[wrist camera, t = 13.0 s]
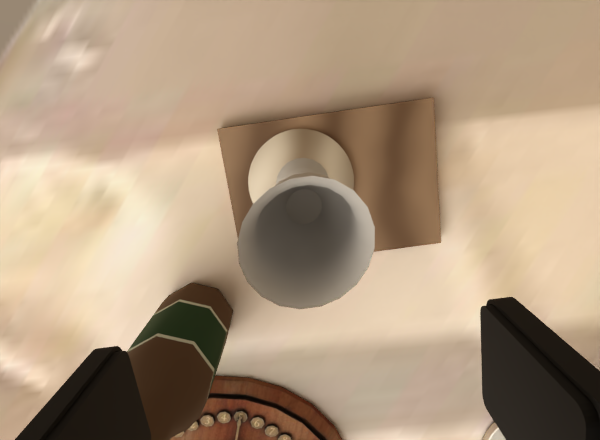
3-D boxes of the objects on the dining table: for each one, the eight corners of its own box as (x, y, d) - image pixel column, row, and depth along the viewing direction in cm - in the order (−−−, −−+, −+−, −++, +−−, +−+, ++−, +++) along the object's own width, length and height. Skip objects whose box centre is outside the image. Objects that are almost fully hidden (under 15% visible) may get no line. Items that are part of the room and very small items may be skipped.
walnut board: (428, 98, 38) (435, 97, 36) (436, 238, 41) (443, 244, 39) (220, 128, 38) (216, 129, 36) (245, 263, 42) (243, 271, 40)
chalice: (305, 235, 39) (311, 333, 21) (250, 191, 38) (209, 257, 20) (355, 177, 37) (404, 232, 20) (299, 130, 36) (300, 145, 19)
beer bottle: (249, 306, 43) (191, 530, 20) (209, 356, 45) (112, 618, 22) (188, 266, 42) (52, 454, 19) (150, 319, 44) (-20, 553, 20)
